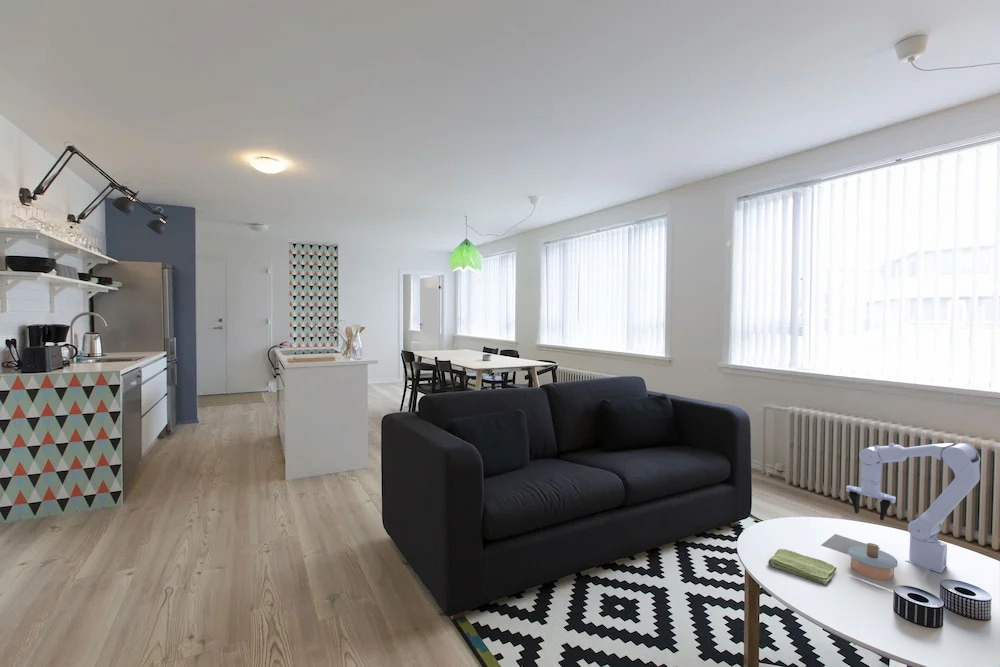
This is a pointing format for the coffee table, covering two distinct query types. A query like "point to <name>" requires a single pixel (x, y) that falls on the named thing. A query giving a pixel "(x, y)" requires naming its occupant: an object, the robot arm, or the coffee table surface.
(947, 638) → the coffee table surface
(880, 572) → the bowl
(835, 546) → the mat
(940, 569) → the robot arm
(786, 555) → the washcloth
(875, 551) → the lid
